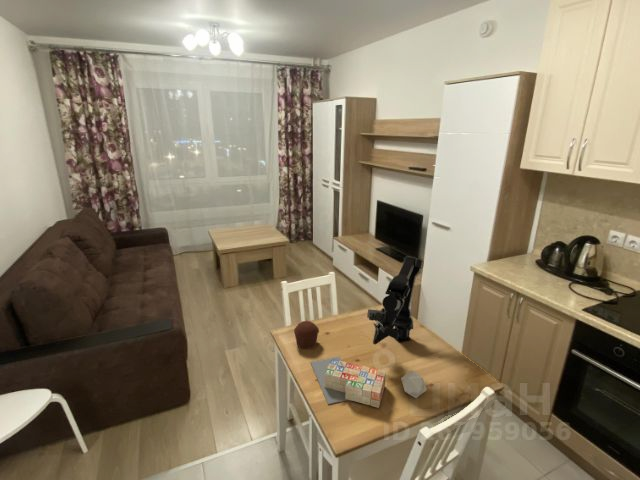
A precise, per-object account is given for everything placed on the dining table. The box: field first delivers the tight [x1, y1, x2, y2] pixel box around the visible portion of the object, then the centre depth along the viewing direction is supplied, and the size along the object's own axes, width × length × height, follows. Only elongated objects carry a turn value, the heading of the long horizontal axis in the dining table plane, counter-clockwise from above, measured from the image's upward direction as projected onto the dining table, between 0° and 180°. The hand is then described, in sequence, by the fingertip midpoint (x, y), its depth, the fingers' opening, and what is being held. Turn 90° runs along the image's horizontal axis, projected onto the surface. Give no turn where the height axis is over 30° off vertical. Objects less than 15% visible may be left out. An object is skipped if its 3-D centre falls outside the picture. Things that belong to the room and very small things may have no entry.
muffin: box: [293, 320, 320, 349], centre depth 153 cm, size 12×11×10 cm
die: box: [400, 369, 428, 399], centre depth 124 cm, size 8×9×10 cm
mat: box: [309, 356, 349, 406], centre depth 132 cm, size 13×24×1 cm, turn 17°
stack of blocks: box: [324, 359, 387, 409], centre depth 126 cm, size 21×6×12 cm
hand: (373, 343), depth 138 cm, fingers closed
